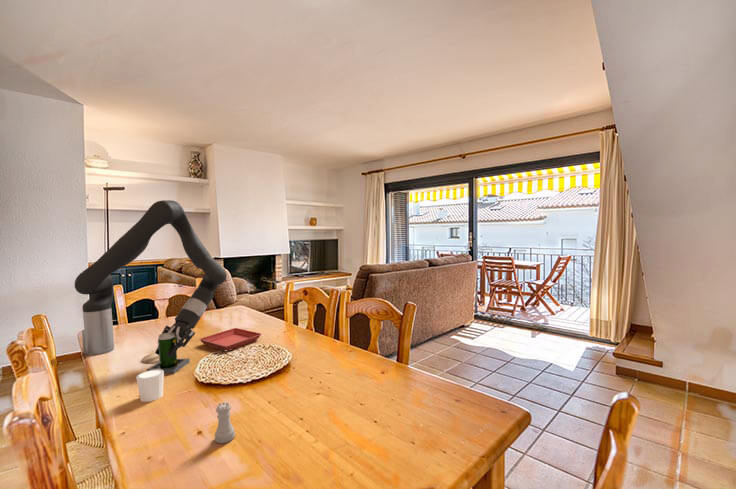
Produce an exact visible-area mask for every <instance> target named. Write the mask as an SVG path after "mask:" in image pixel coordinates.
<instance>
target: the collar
mask: <svg viewBox="0 0 736 489" xmlns="http://www.w3.org/2000/svg"><path fill="white" fill-rule="evenodd" d="M188 364H190V358H177V365H176V366H175V367H173V368H160V362H158V363H154V364H152V365H151V366H150V367H149V368H146V371H149V370H155V369H161V370H163V371H164V375H165V374H166V375H167V374H173V375H174V374H175V373H177V372H178V371H180V370H181V369H183V368H184V367H185V366H186V365H188Z"/></svg>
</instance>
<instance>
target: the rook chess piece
mask: <svg viewBox="0 0 736 489" xmlns="http://www.w3.org/2000/svg"><path fill="white" fill-rule="evenodd" d="M231 408H232V407H231V405H230V403H229V402H227V401H226V402H225V401H223V402H222V403H218V405H217V406H216V409H215V412H216V413H217V420H218V421H217V427H216V430H215V432H214V441H215V443H217V444H227V443H229V442H231V441H233V439H234V438H235V436H236V433H235V428H234V426H233V425H232V422H231V412H230V410H231Z"/></svg>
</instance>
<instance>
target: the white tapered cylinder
mask: <svg viewBox="0 0 736 489" xmlns="http://www.w3.org/2000/svg"><path fill="white" fill-rule="evenodd" d="M164 375H165V374H164V371H163V370H161V369H155V370H149V371H147V370H146V371H143V372H141V373H139V374H137V375H136V377H135V378H136V382H137V383H136V384H137V388H138V394H139V399H140V402H142V403H148V402H154V401H156V400H159V399H161V397H163V396H164V381H165V380H164V378H165V377H164Z"/></svg>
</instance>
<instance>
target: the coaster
mask: <svg viewBox="0 0 736 489" xmlns="http://www.w3.org/2000/svg"><path fill="white" fill-rule="evenodd" d="M141 362H142V363H144V364H156V363H158V362H160V361H159V355H157V354H156V353H155V352H153V353H149V354H148V355H147V354H146V356H143V357H142V359H141Z"/></svg>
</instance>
